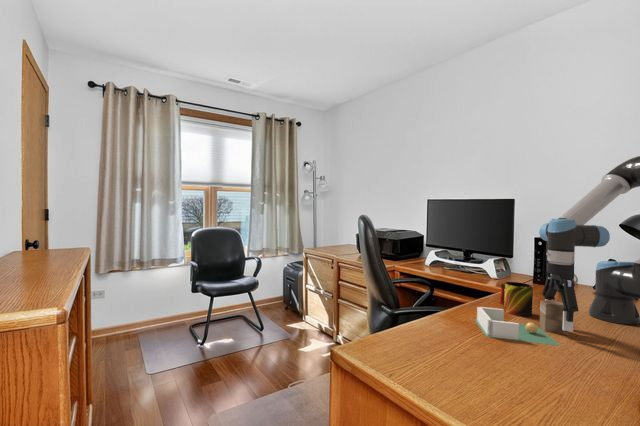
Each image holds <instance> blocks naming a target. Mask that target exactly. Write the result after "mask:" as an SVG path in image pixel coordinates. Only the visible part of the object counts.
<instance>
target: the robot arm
mask: <svg viewBox="0 0 640 426" xmlns="http://www.w3.org/2000/svg"><path fill="white" fill-rule="evenodd" d="M639 187H640V156H639V155H638V156H635V157H632V158H629V159H628V160H625V161H624V162H622V163H620V164H618V165H616V166H615V167H613V168H612V169H611V170H610V171H608V172H607V173H605V175H603V176H602V178H601V181H600V183H598V184H597V185H596V186H595V187H593V189H592V190H590V191H589V192H588V193H587V194H585V196H583V197H582V198H580V200H578V201H577V202H576V203H574V205H572V206H571V207H570V208H569V209H568V210H567V211H565V212H564V213H563V214H562V215H561V216H560V217H558V218H551V219H550V220H549V221H548V223H543V224H542V225H541V226H540V228H539V230H538V233H539V236H540V238H541V239H542V240H543V241H545V242H547V252H546V253H545V254H546V255H545V256H547V259H546V260H547V261H548V262H547V263H546V279H545V282H544V286H543V290H542V296H543V297H544V300H545V301H555V300H556V298H555V296H556V295H557V293H559V295H560V298H561V302H563V305H564V309H563V326H562V330H563V331H569V332H574V321H575V319H574V317H575V316H574V314H575V313H578V312H579V305H578V302H577V296H576V291H575V281H574V280H570V279H569V277H573V276H574V271H575V266H574V264H575V255H576V251H575V250H576V248H575V247H583V248H584V247H585V248H586V247H587V248H588V247H591V248H597V247H598V248H599V247H604V246H606V245H607V244H608V243H609V242H610V239H611V238H610V237H611V236H610V235H611V234H610V231H609V230H608V229H607V227H605V226H602V225H596V224H591V225H590V224H589V225H588V224H587V223H588V222H590V220H591V219H593V218H594V217H595V216H596V215H598V214H599V213H600V212H601V211H603V210H604V208H606V207H607V206H608V205H609V204H610V203H612V202H613V201H614V200H616V198H618V197H619V196H621V195H625V194H626V193H628V192H630V190H632V189H635V188H639ZM586 224H587V225H586ZM594 289H595V294H594V298H593V300H592V302H591V304H590V306H589V308H588V315H589V316H590V317H593V318H596V319H597V320H598V319H599V320H601V321H606V322H609V323H614V324H620V323H621V324H622V325H628V324H638V325H640V324H639V323H640V313H639V310H638V308H637V305H636V303H635V300H636V299H637V300H640V258H639V259H637V260H635V261H615V260H614V261H608V260H605V261H604V260H601V261H598V262H597V263H596V268H595V288H594ZM621 324H620V325H621Z"/></svg>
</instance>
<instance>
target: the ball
mask: <svg viewBox="0 0 640 426" xmlns="http://www.w3.org/2000/svg"><path fill="white" fill-rule="evenodd" d="M537 326H538V325H537V324H535V323H534V322H532V321H531V322H527V323H526V326H525V328H526V330H527V331H528V332H529V333H536V332H537V330H538V328H537Z"/></svg>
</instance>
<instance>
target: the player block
mask: <svg viewBox="0 0 640 426" xmlns="http://www.w3.org/2000/svg"><path fill="white" fill-rule="evenodd" d="M563 309H564V305H563V302H562V301H555V300H554V301H545V299H544V300H543V299H540V303H539V328H540V329H542V330H543V331H544V332H546V333H547V332H549V333H556V334H557V333H558V334H561V335H565V336H569V333H570V331H563V330H562V326H563Z"/></svg>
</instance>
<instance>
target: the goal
mask: <svg viewBox="0 0 640 426" xmlns="http://www.w3.org/2000/svg"><path fill="white" fill-rule="evenodd" d="M504 318H505V312H504V308H498V307H497V308H496V307H495V308H494V307H485V306H477V307H476V319H477V321H478V322H479V324H480V325H481V327H482V328H483V329H484V331H485V332H486V334H487V335H488V336H490V337H499V338H507V339H515V340H518V335H519V324H520V323H518V322H511V321H505V319H504ZM490 337H489V338H490ZM507 339H506V340H507ZM515 340H514V341H515Z"/></svg>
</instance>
